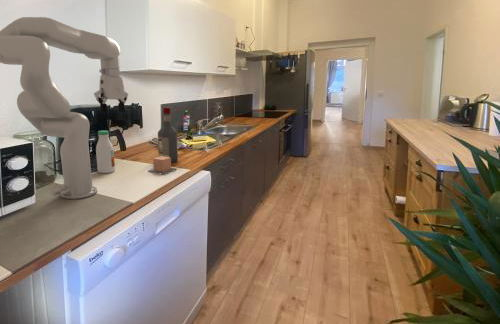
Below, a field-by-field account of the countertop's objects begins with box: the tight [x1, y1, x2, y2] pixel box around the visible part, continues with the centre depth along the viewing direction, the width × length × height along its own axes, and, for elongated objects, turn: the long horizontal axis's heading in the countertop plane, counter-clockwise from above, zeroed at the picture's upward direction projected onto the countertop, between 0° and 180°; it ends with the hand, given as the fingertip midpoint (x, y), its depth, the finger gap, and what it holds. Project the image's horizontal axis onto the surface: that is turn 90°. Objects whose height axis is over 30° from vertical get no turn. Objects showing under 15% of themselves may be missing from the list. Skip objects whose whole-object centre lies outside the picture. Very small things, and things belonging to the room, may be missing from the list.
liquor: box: [157, 106, 179, 164], centre depth 171 cm, size 9×9×30 cm
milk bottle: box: [95, 130, 116, 174], centre depth 148 cm, size 8×8×20 cm
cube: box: [152, 156, 172, 172], centre depth 154 cm, size 6×6×6 cm
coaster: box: [147, 167, 177, 175], centre depth 155 cm, size 10×10×1 cm
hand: (113, 112), depth 139 cm, fingers open, 9 cm apart
